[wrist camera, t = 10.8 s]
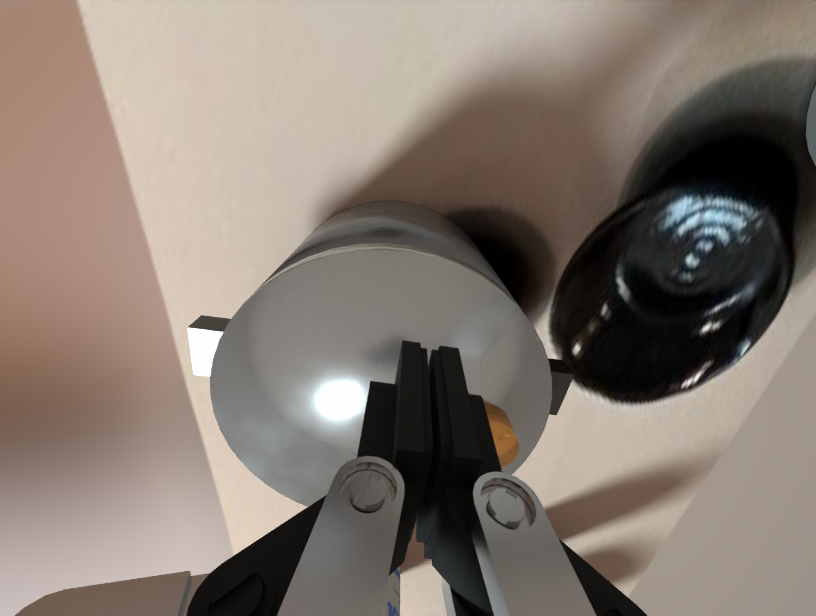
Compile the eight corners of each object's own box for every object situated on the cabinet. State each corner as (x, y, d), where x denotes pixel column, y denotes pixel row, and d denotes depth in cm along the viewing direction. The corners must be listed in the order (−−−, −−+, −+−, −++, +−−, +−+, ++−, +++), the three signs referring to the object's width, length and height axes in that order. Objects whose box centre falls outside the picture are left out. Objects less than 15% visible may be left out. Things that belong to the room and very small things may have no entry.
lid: (207, 215, 14) (164, 232, 11) (592, 271, 15) (630, 298, 13) (232, 488, 21) (208, 537, 18) (495, 511, 22) (508, 560, 19)
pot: (251, 177, 24) (142, 205, 14) (549, 224, 25) (645, 279, 15) (259, 387, 31) (192, 503, 21) (487, 413, 33) (525, 531, 23)
